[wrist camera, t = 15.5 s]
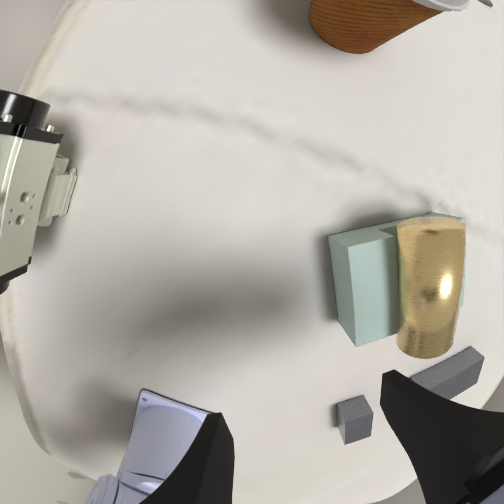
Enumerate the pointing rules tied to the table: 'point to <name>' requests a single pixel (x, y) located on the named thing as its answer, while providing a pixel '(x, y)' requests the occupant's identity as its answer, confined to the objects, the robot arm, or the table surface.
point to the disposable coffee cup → (372, 20)
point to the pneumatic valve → (28, 180)
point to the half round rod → (487, 2)
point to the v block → (369, 279)
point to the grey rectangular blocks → (434, 379)
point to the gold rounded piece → (429, 284)
